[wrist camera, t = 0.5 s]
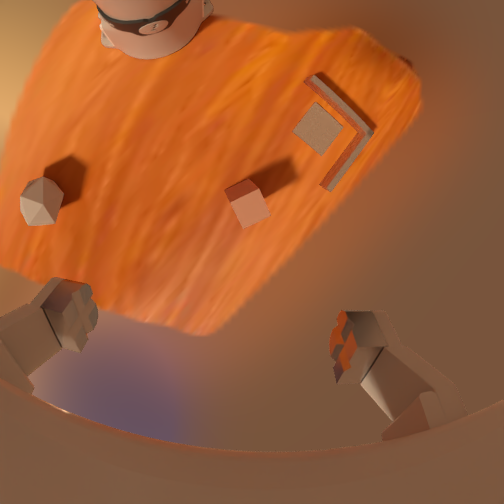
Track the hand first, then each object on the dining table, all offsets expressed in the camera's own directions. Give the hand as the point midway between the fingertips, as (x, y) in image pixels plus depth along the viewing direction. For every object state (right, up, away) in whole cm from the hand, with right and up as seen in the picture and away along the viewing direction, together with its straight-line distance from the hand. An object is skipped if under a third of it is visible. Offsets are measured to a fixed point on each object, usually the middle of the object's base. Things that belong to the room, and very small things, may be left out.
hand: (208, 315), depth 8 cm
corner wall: (+13, +23, +35) cm, 44 cm away
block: (0, +11, +38) cm, 39 cm away
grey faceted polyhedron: (-35, +12, +30) cm, 47 cm away
